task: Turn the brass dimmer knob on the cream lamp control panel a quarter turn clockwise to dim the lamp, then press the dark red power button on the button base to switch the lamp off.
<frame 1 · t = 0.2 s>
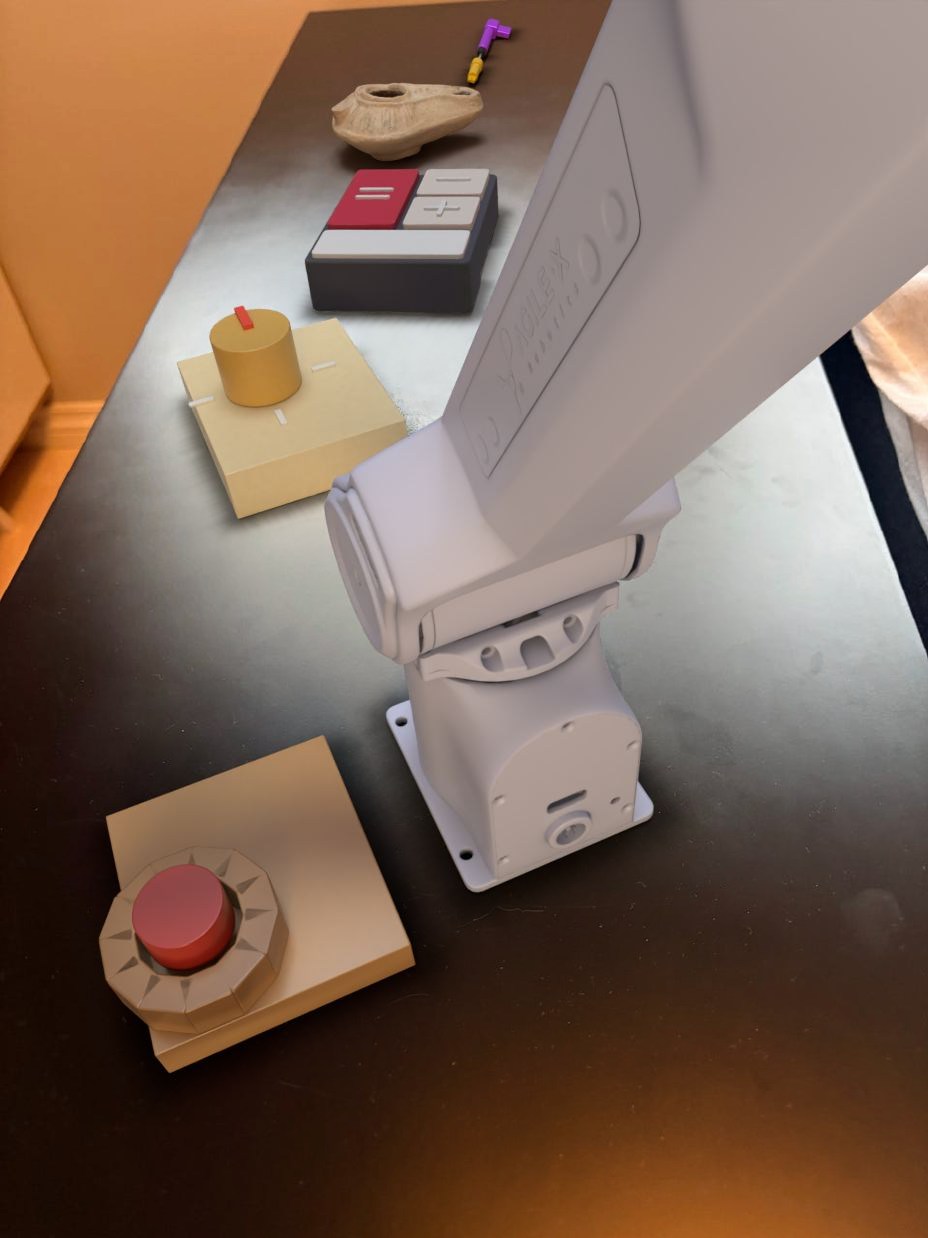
calculator: (411, 262, 72), on the table
purple yellow angled rod: (490, 59, 99), on the table
power button: (184, 917, 33), point 4 cm above the table, slide at 0.1 cm
button base: (258, 898, 38), on the table
pottery oil lamp: (411, 153, 85), on the table
dimmer knob: (256, 355, 55), point 5 cm above the table, hinge at 0.0°
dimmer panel: (295, 432, 58), on the table
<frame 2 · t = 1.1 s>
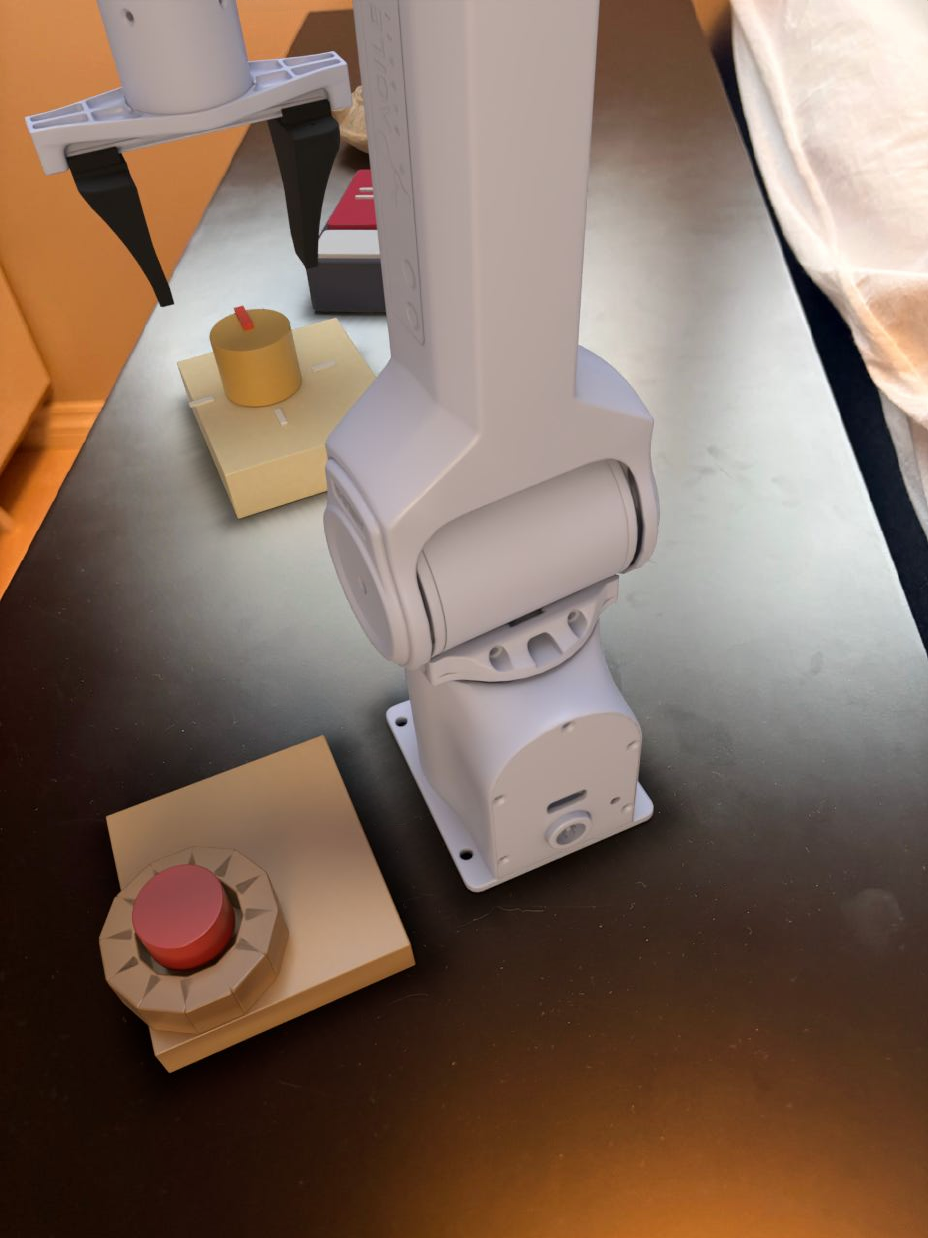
hand: (236, 278, 52), 9 cm above the table, tool pointing down, fingers open, 7 cm apart
nothing on the table moved.
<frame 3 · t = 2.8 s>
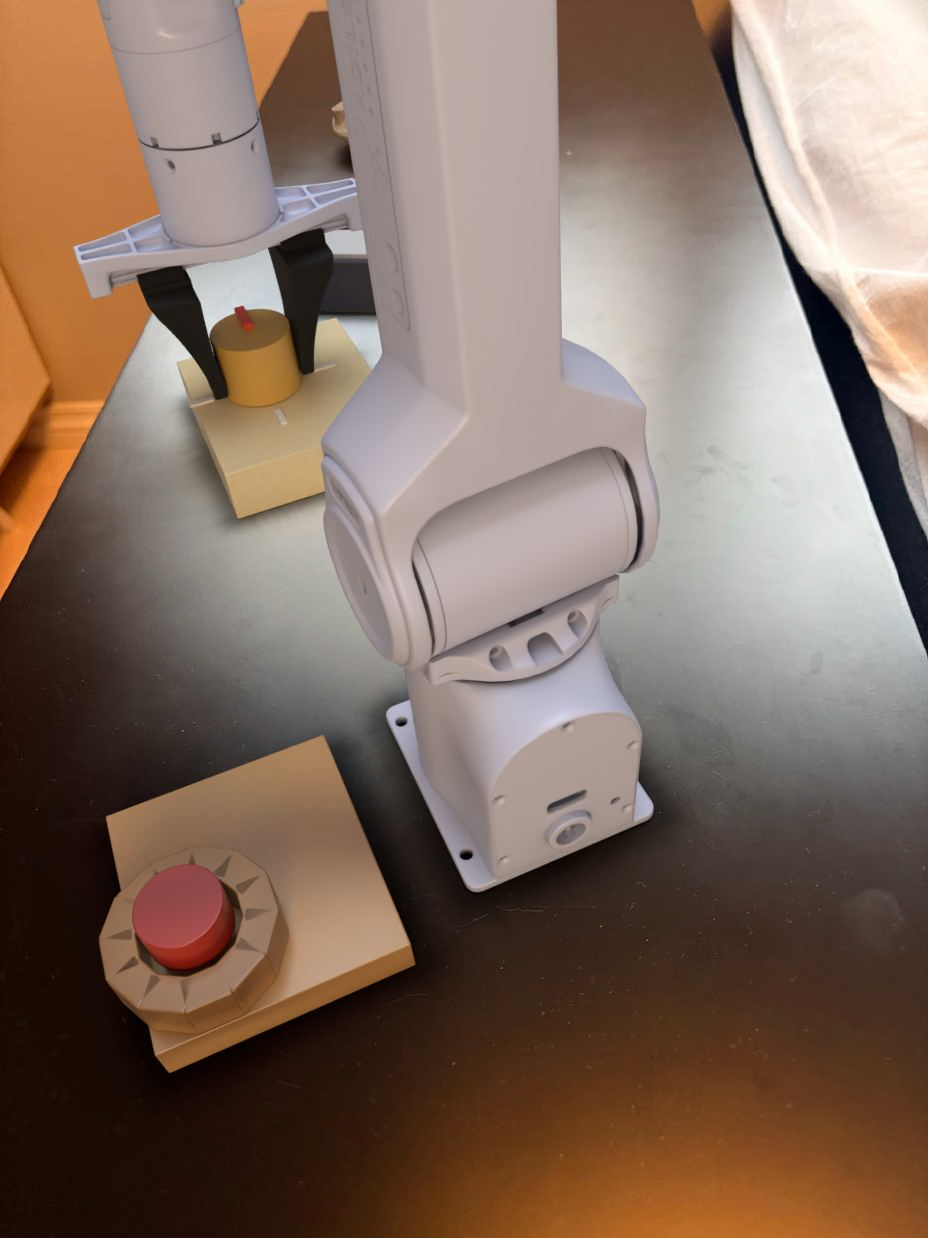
hand: (262, 377, 56), 4 cm above the table, tool pointing down, fingers closed on dimmer knob, 4 cm apart
dimmer knob: (256, 355, 55), point 5 cm above the table, hinge at -0.1°, touching gripper
everything else where it was.
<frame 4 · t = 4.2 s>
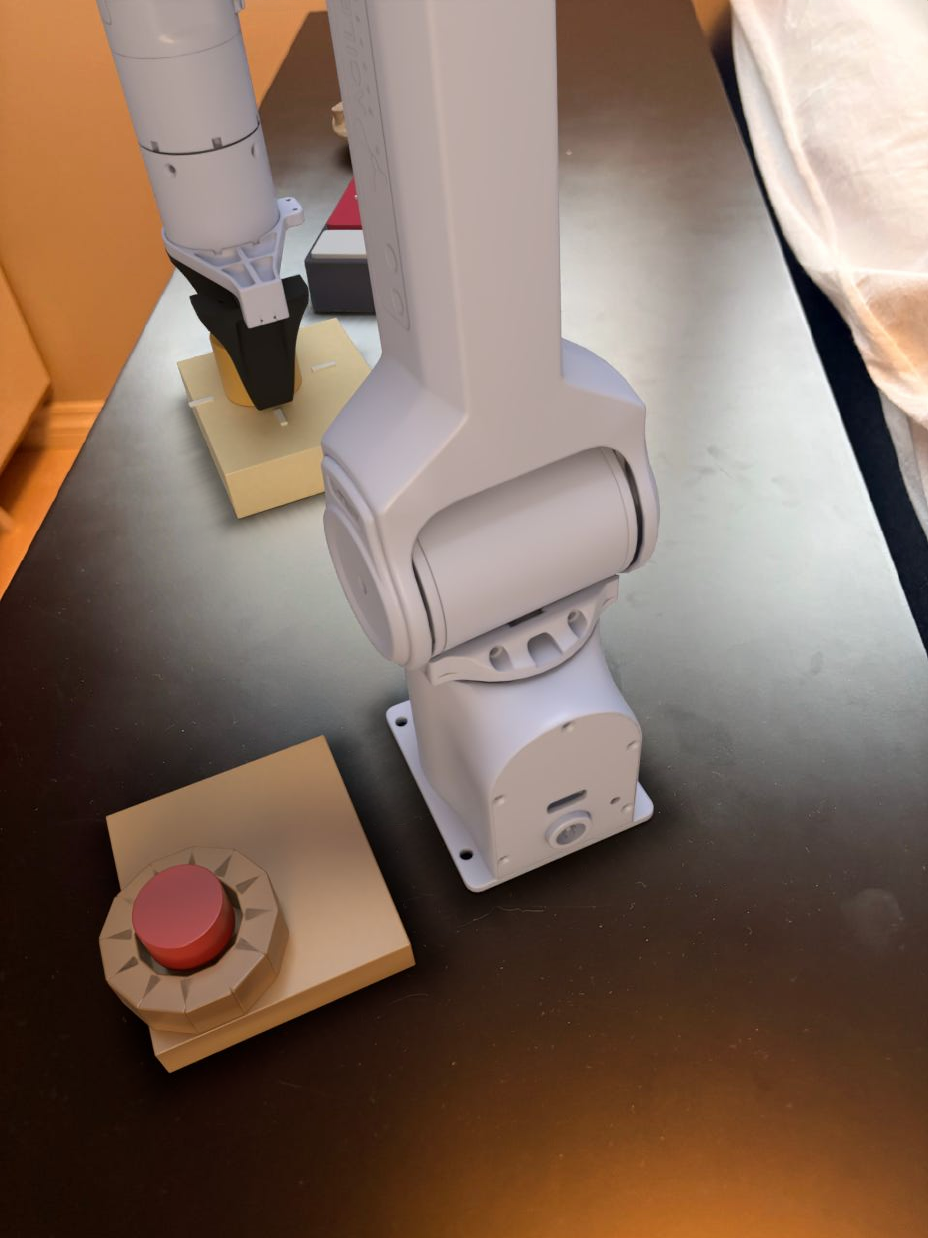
hand: (262, 380, 56), 3 cm above the table, tool pointing down, fingers closed on dimmer knob, 4 cm apart
dimmer knob: (256, 355, 55), point 5 cm above the table, hinge at -90.4°, touching gripper
everything else where it was.
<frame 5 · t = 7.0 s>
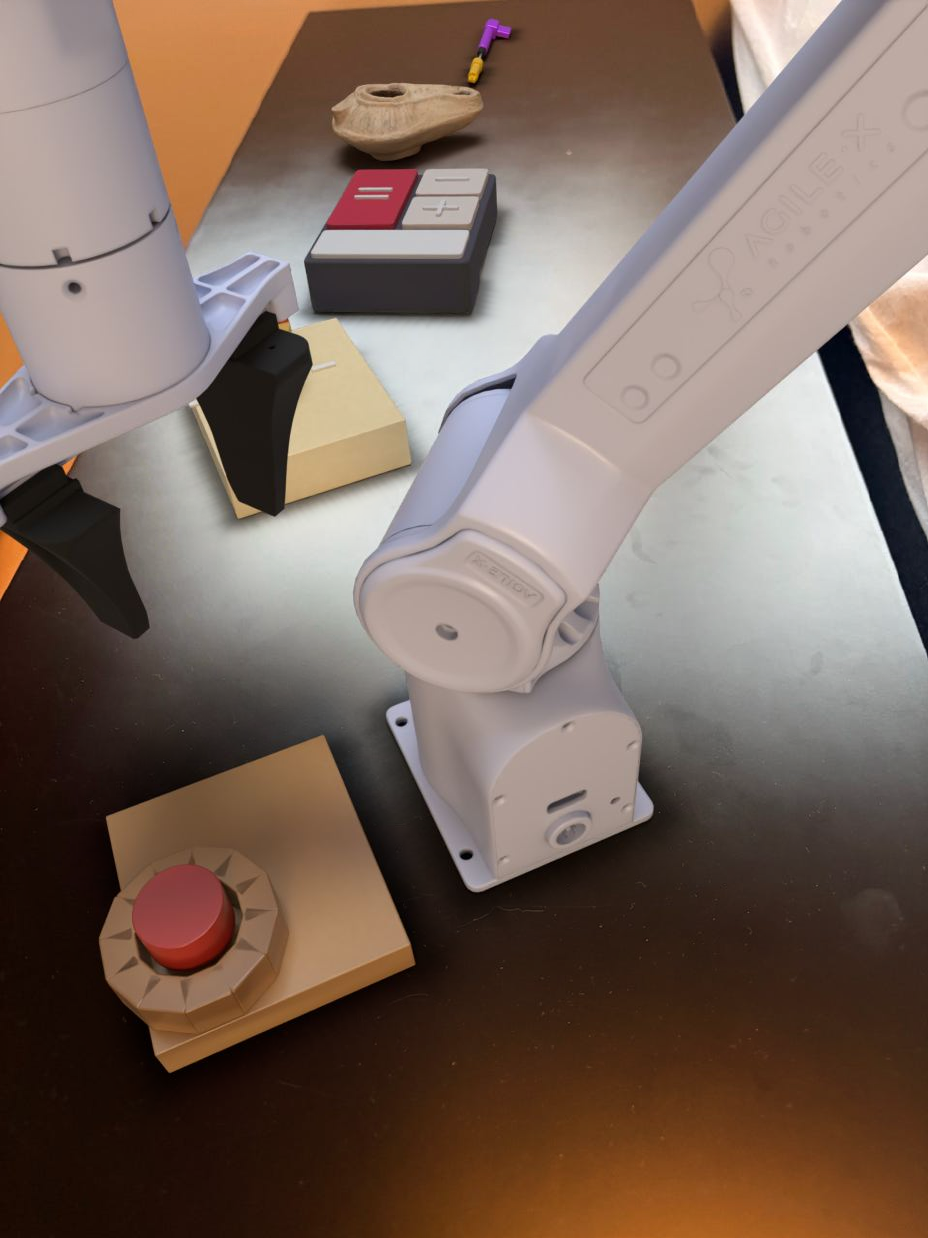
hand: (196, 561, 39), 8 cm above the table, tool pointing down, fingers open, 7 cm apart
dimmer knob: (256, 355, 55), point 5 cm above the table, hinge at -90.3°
everything else where it was.
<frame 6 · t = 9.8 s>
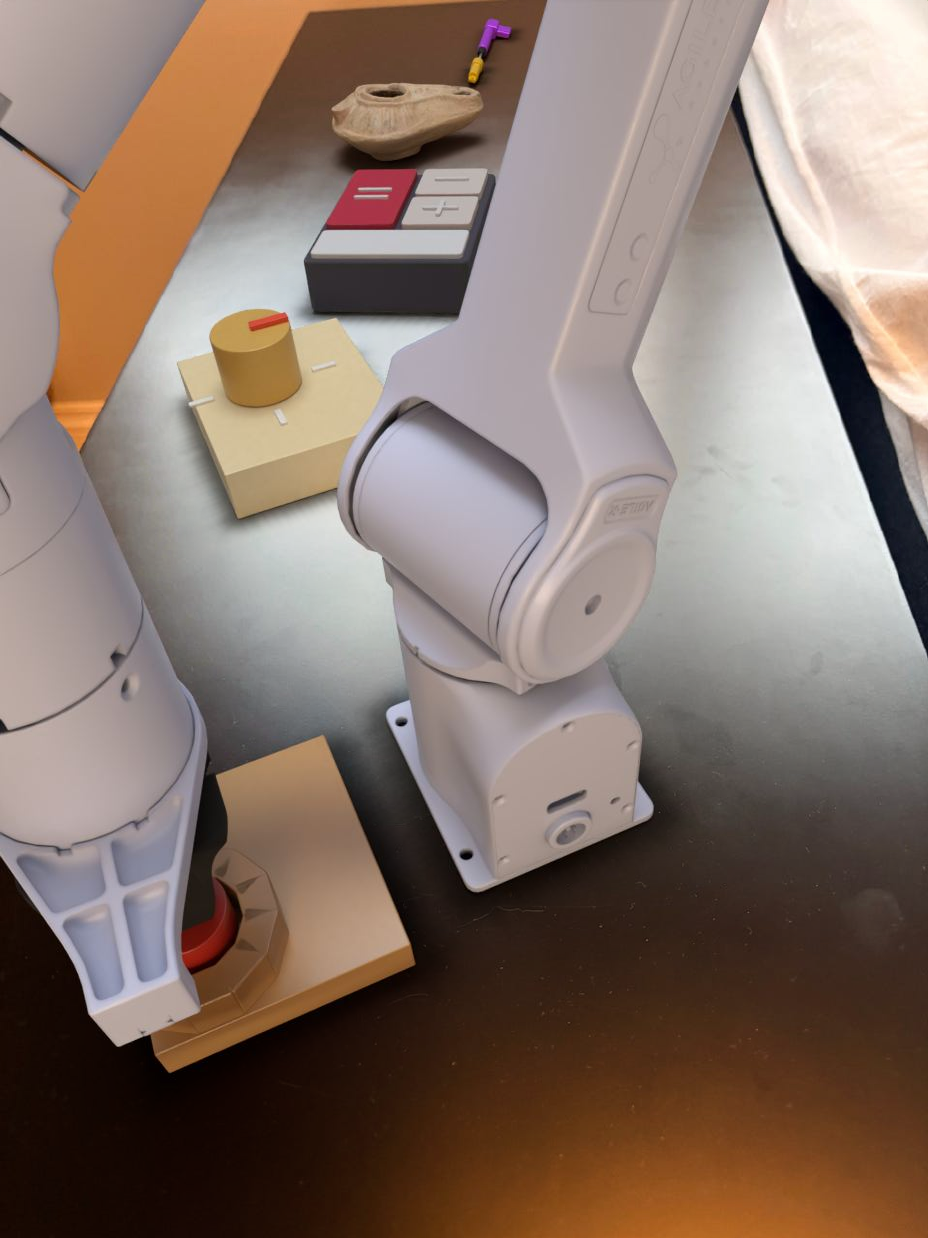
hand: (180, 912, 33), 4 cm above the table, tool pointing down, fingers closed, pressing on power button
power button: (188, 923, 33), point 4 cm above the table, slide at -0.3 cm, touching gripper
everything else where it was.
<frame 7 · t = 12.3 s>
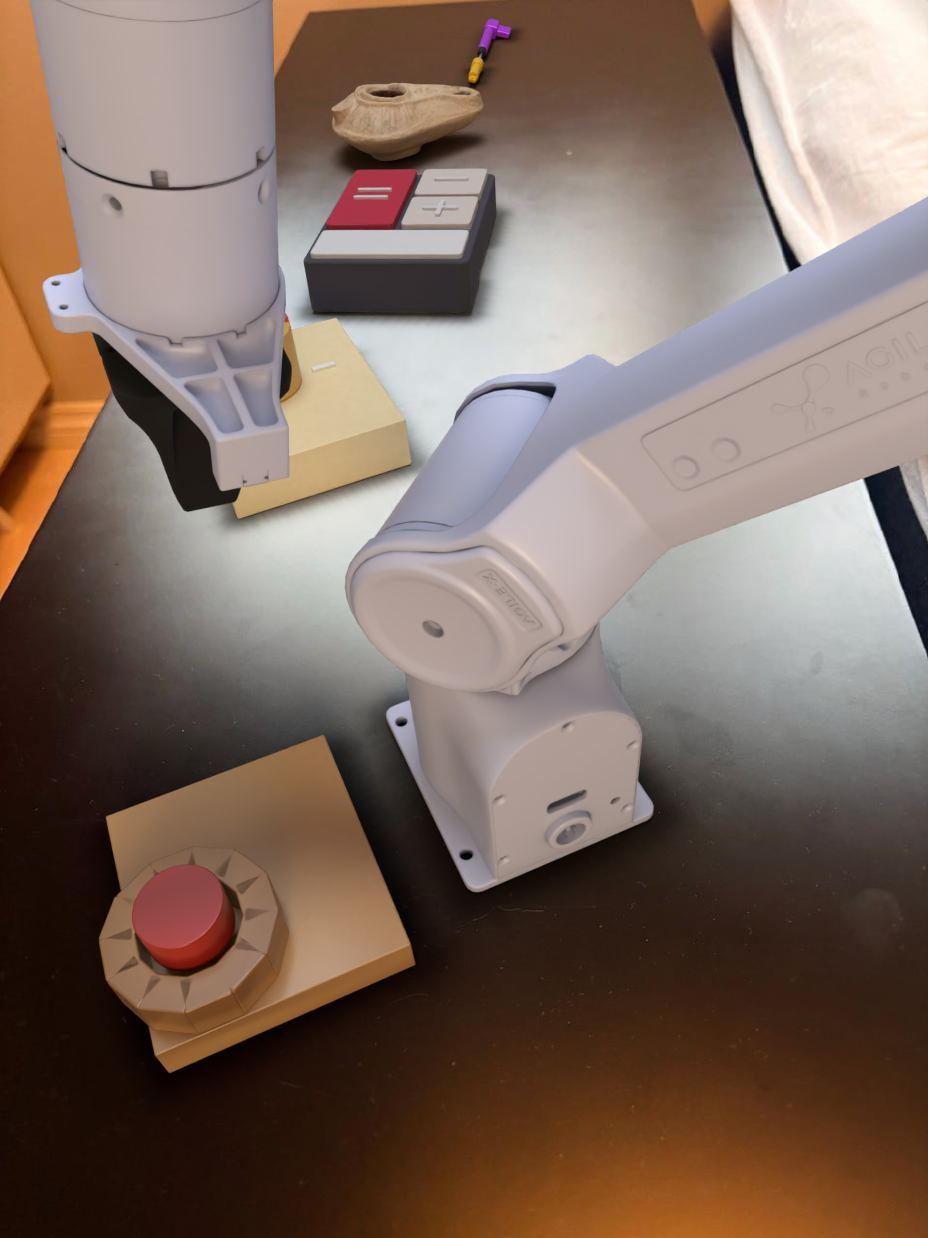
hand: (206, 494, 37), 11 cm above the table, tool pointing down, fingers closed
power button: (184, 917, 33), point 4 cm above the table, slide at 0.1 cm
everything else where it was.
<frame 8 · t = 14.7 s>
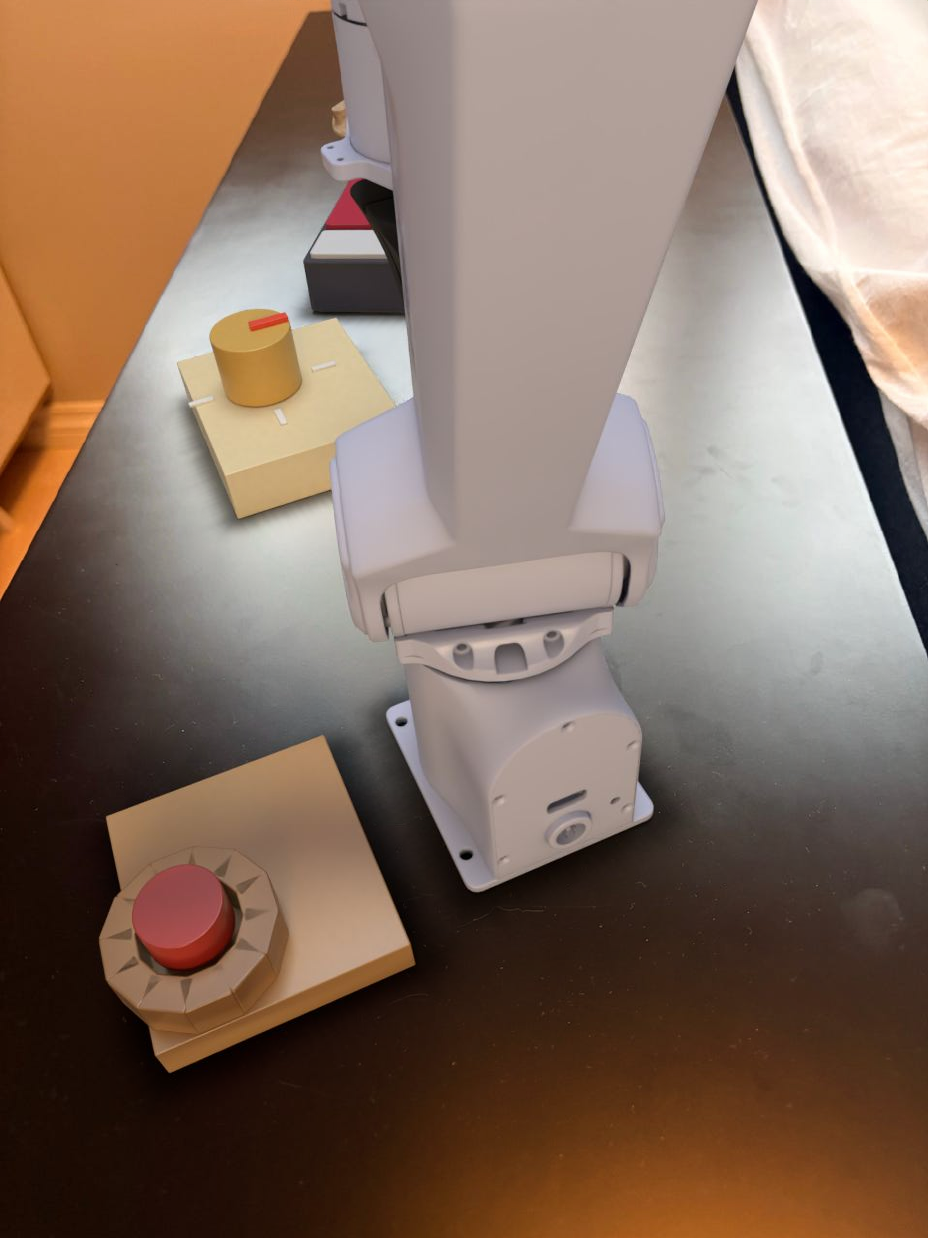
hand: (445, 344, 44), 10 cm above the table, tool pointing down, fingers closed
nothing on the table moved.
at the end: dimmer knob at -90° (first picture: +0°); power button pushed in 1.2 cm at the most during the clip, back to where it started at the end; power button slide at 0.1 cm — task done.
